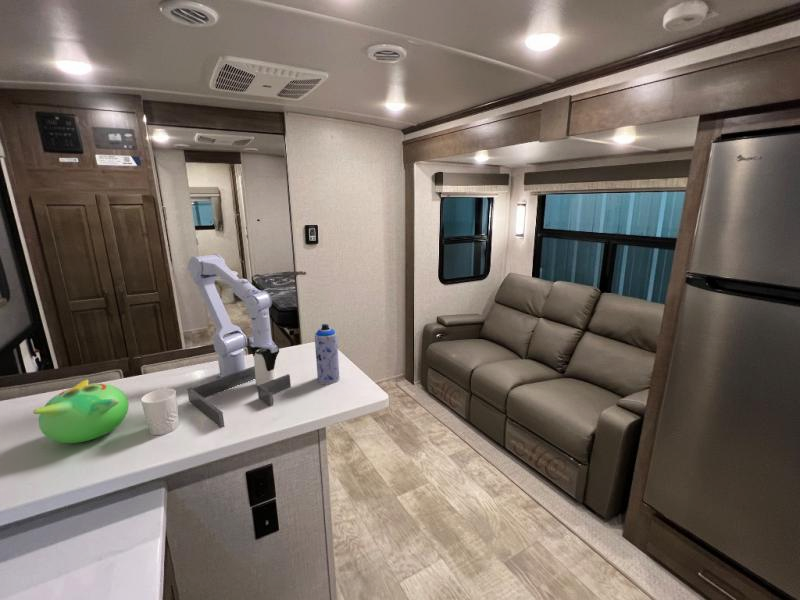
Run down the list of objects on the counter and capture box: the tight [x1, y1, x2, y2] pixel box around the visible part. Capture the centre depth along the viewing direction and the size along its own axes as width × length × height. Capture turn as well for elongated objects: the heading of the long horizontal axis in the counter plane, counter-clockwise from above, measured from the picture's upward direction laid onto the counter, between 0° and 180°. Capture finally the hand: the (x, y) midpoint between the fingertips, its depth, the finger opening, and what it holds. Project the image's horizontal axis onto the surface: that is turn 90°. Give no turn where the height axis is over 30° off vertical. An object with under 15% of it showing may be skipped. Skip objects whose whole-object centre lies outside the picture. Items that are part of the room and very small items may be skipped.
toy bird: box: [32, 379, 129, 444], centre depth 97 cm, size 18×17×15 cm
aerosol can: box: [314, 323, 341, 385], centre depth 128 cm, size 8×8×20 cm
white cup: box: [140, 388, 180, 436], centre depth 101 cm, size 8×8×10 cm
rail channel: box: [186, 365, 292, 429], centre depth 118 cm, size 22×26×4 cm
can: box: [253, 348, 277, 387], centre depth 125 cm, size 6×6×12 cm
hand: (265, 367), depth 125 cm, fingers closed on can, 6 cm apart
